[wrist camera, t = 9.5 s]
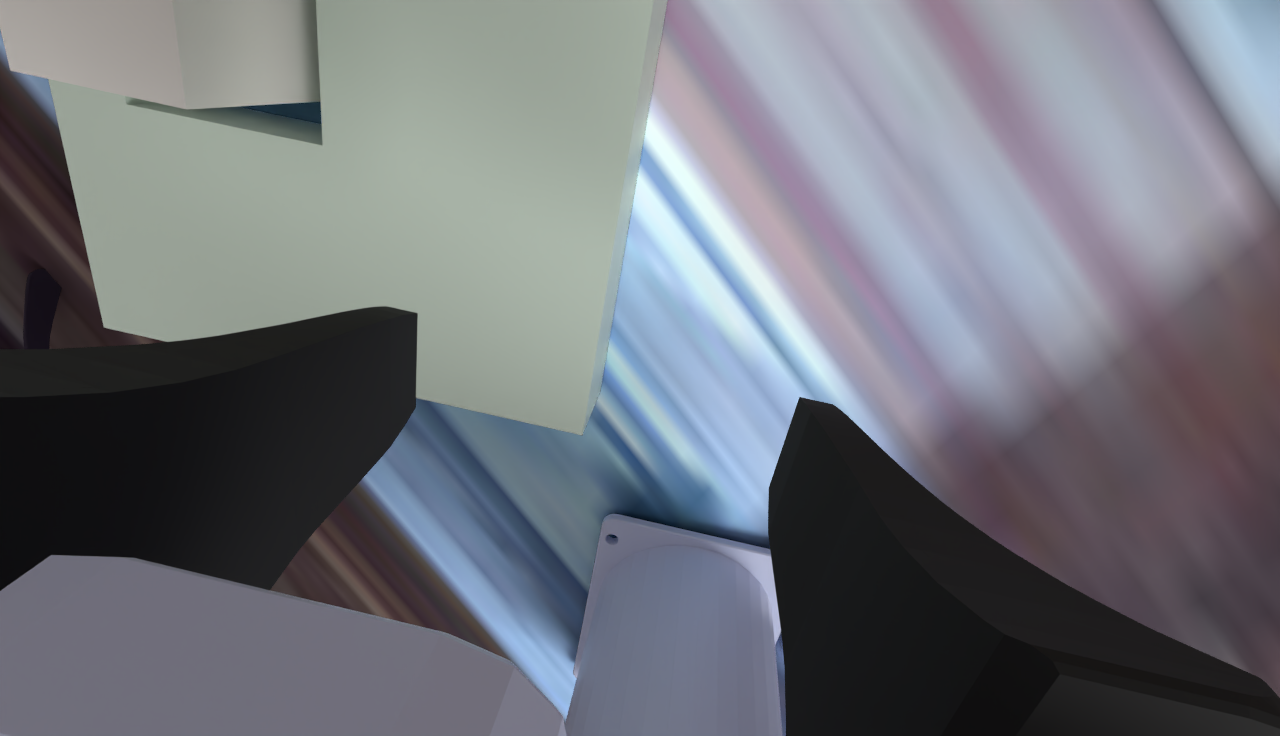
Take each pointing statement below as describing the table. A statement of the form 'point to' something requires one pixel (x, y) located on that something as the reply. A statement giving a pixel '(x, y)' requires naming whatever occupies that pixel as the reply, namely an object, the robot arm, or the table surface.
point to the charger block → (170, 48)
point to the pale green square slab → (394, 194)
